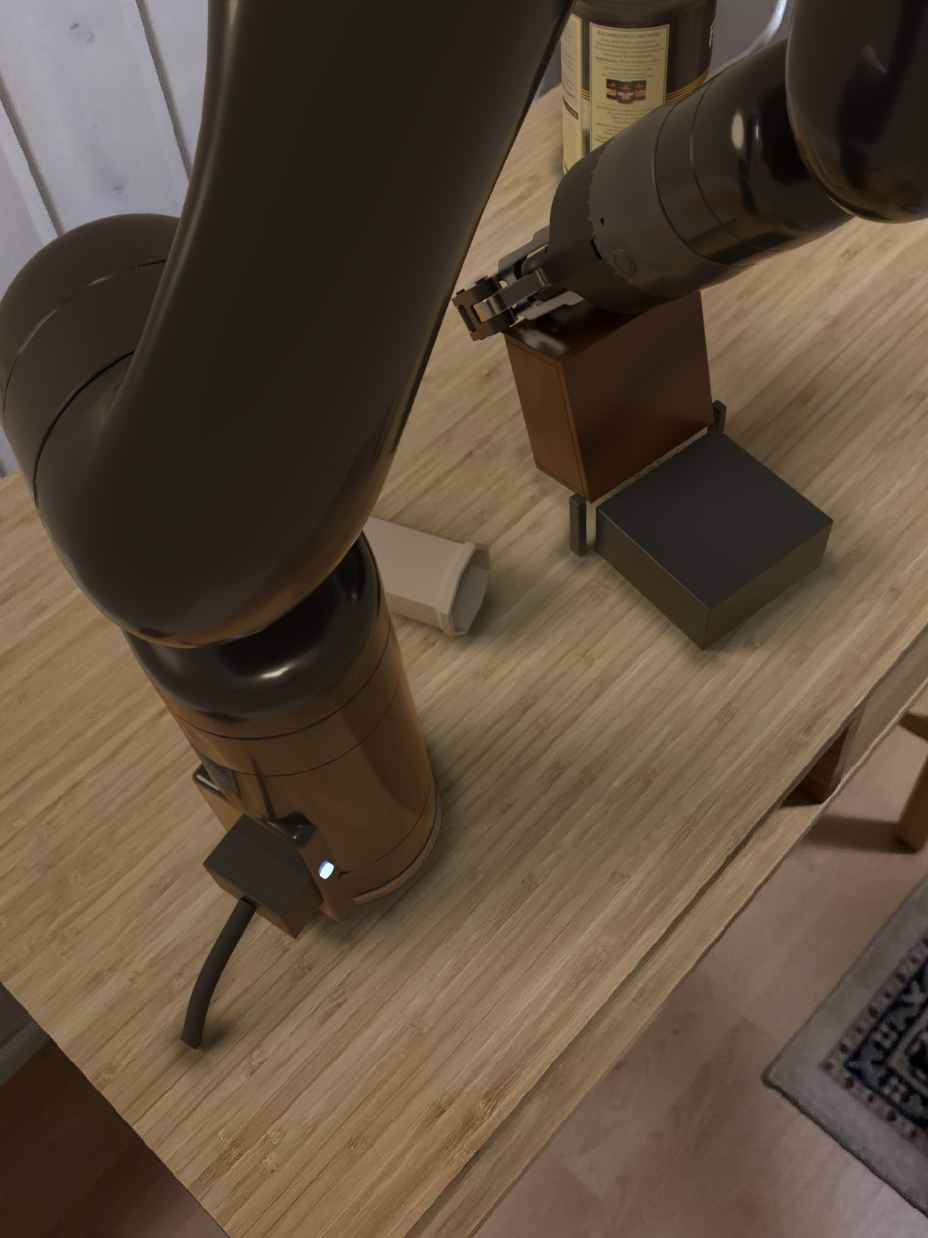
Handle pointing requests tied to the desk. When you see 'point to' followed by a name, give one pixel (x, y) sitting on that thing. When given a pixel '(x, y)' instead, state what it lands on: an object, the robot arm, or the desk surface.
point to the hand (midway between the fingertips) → (514, 287)
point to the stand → (707, 534)
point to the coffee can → (628, 64)
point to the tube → (430, 574)
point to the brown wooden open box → (610, 389)
